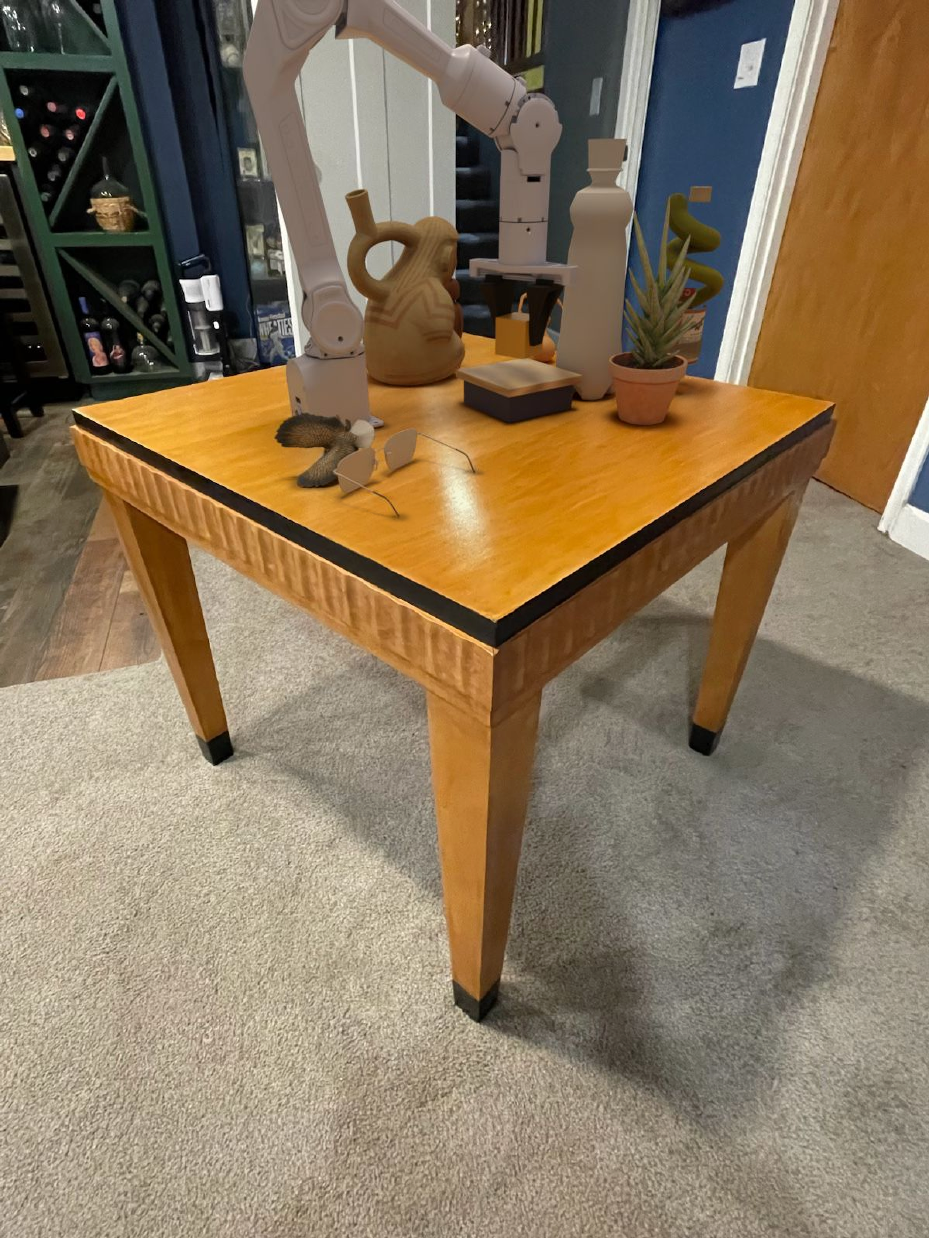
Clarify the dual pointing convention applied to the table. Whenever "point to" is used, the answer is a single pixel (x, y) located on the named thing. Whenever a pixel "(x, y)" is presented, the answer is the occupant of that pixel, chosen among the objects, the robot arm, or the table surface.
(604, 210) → the bottle
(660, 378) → the potted plant
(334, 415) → the robot arm
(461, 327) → the wooden figurine
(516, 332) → the block
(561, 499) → the table surface
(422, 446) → the table surface
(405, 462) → the eyeglasses
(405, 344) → the ceramic vessel
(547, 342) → the figurine
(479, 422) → the table surface
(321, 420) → the eagle figurine
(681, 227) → the snake in a can
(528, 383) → the box
